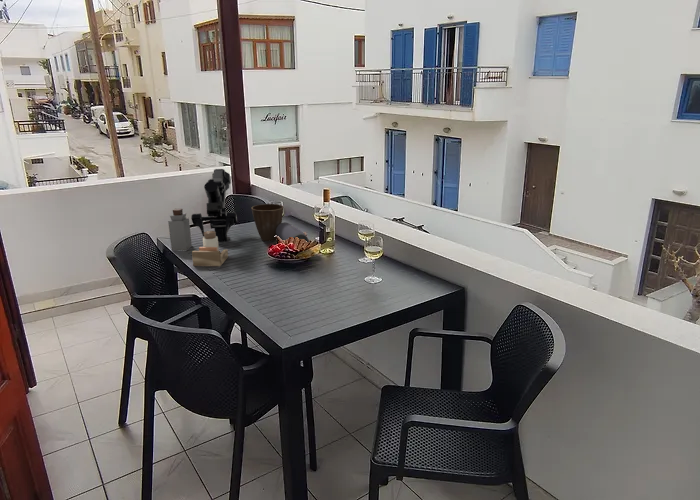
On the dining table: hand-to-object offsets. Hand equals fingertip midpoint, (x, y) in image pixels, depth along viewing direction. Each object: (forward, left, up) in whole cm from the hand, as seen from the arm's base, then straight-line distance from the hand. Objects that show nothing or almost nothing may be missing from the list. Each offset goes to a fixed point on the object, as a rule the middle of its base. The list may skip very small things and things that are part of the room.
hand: (214, 235), depth 201 cm
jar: (+8, +1, -9) cm, 12 cm away
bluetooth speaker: (-11, +32, -9) cm, 35 cm away
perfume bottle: (-9, -18, -9) cm, 22 cm away
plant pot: (-24, +19, -9) cm, 31 cm away
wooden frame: (+8, +1, -9) cm, 12 cm away
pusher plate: (+11, +1, -8) cm, 14 cm away
